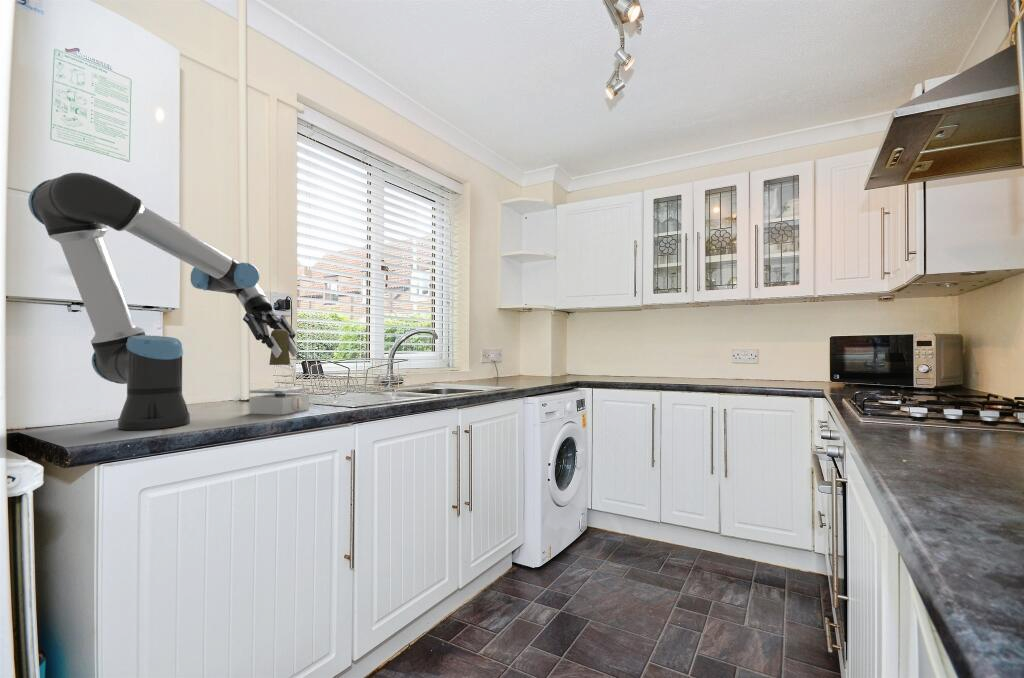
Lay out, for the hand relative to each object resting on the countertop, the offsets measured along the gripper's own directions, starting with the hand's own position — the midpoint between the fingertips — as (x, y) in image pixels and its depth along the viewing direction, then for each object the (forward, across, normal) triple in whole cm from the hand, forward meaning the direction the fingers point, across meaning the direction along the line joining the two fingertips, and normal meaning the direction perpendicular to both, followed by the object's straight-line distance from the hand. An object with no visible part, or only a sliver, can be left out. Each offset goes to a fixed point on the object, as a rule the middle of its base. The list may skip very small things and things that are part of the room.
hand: (287, 354), depth 151 cm
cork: (0, 0, -5) cm, 5 cm away
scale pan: (+6, 0, -11) cm, 12 cm away
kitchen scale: (+10, 0, -15) cm, 18 cm away
